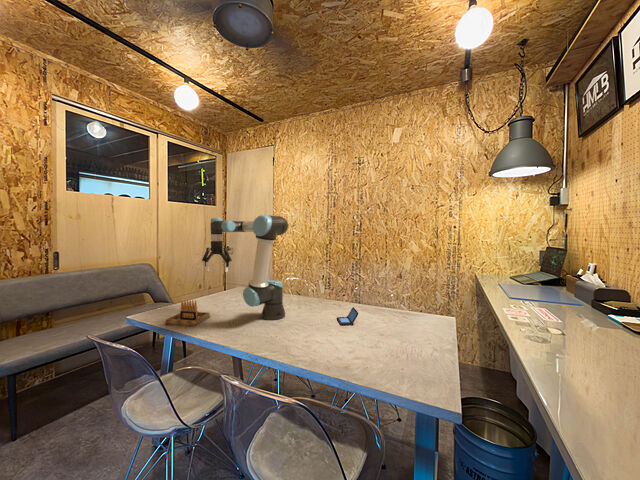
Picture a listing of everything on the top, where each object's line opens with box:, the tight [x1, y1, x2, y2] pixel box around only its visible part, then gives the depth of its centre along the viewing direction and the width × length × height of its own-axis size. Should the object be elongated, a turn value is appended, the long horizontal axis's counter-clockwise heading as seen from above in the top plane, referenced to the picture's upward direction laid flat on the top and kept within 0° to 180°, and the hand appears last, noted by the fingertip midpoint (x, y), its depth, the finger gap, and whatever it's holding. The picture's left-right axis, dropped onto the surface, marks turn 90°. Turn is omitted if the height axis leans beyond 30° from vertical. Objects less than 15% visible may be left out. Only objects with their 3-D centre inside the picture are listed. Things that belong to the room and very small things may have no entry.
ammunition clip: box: [179, 299, 199, 320], centre depth 156 cm, size 11×2×12 cm, turn 82°
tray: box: [165, 311, 211, 327], centre depth 157 cm, size 18×16×3 cm
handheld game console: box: [336, 306, 359, 326], centre depth 157 cm, size 12×11×7 cm
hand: (216, 271), depth 177 cm, fingers open, 13 cm apart
